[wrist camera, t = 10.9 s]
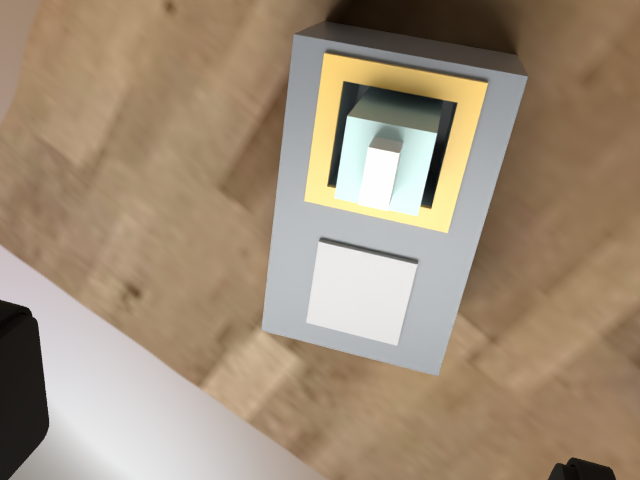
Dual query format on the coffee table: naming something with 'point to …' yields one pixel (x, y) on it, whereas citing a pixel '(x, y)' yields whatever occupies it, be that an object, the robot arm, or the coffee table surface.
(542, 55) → the coffee table surface
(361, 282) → the port panel
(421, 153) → the plug
